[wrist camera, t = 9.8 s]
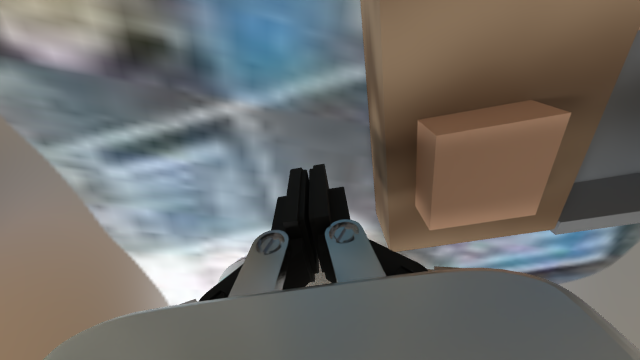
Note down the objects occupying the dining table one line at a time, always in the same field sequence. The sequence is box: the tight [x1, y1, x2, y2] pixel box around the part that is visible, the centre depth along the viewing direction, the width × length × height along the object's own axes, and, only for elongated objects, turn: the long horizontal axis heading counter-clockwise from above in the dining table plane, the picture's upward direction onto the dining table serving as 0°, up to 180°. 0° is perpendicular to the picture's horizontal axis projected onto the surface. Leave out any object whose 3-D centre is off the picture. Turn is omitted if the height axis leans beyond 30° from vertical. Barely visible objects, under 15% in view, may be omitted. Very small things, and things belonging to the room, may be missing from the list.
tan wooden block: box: [360, 0, 640, 252], centre depth 13 cm, size 18×10×4 cm, turn 10°
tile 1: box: [415, 100, 571, 230], centre depth 12 cm, size 5×5×2 cm
